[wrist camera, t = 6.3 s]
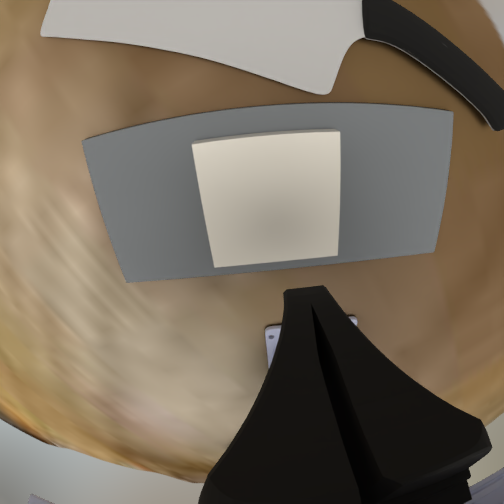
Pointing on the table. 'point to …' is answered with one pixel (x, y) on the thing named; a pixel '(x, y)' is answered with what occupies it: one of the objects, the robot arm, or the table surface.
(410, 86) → the table surface
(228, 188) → the tile
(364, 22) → the kitchen cleaver
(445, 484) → the robot arm
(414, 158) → the mat
